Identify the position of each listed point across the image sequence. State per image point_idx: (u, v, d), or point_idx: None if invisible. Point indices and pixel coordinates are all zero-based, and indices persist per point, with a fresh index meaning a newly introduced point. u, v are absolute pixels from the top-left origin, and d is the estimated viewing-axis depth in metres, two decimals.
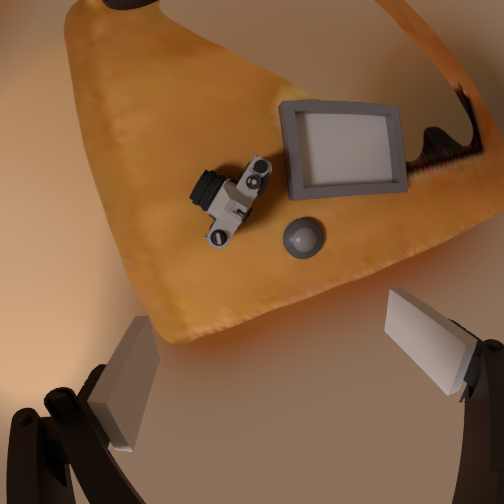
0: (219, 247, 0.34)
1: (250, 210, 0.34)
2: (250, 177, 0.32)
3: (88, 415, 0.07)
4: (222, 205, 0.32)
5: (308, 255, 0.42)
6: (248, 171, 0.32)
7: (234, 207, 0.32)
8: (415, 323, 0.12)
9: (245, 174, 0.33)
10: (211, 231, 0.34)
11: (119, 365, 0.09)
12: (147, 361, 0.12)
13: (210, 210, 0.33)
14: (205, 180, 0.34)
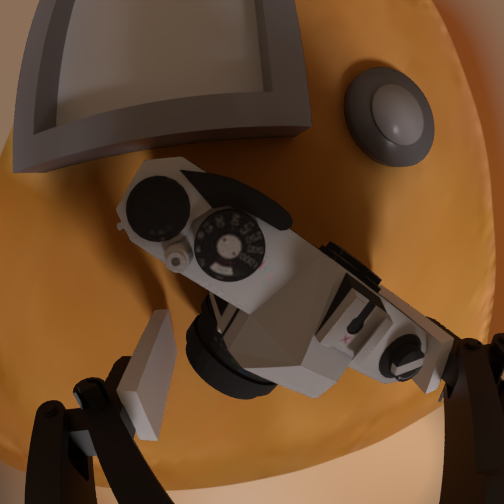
0: (423, 350, 0.09)
1: (346, 258, 0.08)
2: (206, 263, 0.07)
3: (116, 405, 0.08)
4: (318, 382, 0.07)
5: (428, 113, 0.13)
6: None
7: (338, 343, 0.07)
8: None
9: (194, 275, 0.08)
10: (378, 376, 0.09)
11: (145, 355, 0.10)
12: (168, 353, 0.12)
13: None
14: (216, 376, 0.10)
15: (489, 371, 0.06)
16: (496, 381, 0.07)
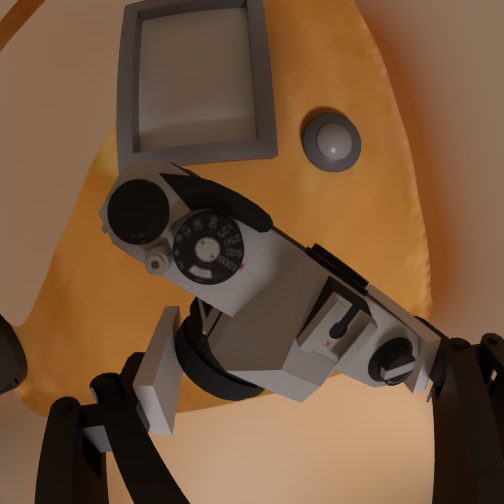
0: (414, 354, 0.09)
1: (330, 260, 0.08)
2: (185, 266, 0.07)
3: (131, 400, 0.08)
4: (301, 386, 0.07)
5: (356, 138, 0.25)
6: None
7: (321, 347, 0.07)
8: None
9: (175, 277, 0.07)
10: (368, 380, 0.09)
11: (159, 351, 0.10)
12: None
13: None
14: (204, 377, 0.10)
15: (478, 371, 0.07)
16: (486, 382, 0.08)
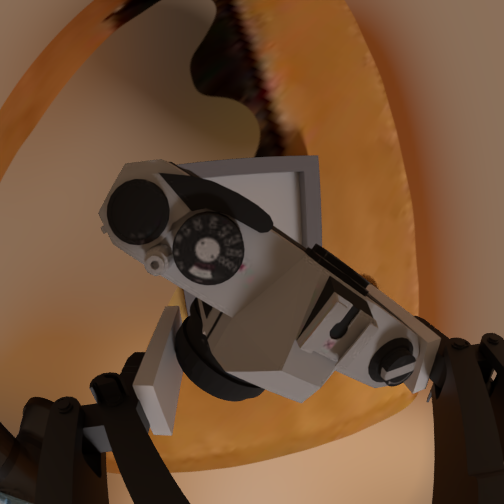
0: (415, 354, 0.09)
1: (331, 261, 0.08)
2: (185, 266, 0.07)
3: (131, 400, 0.08)
4: (302, 386, 0.07)
5: None
6: None
7: (321, 348, 0.07)
8: None
9: (175, 278, 0.07)
10: (368, 381, 0.09)
11: (159, 350, 0.10)
12: None
13: None
14: (204, 378, 0.10)
15: (478, 371, 0.07)
16: (485, 382, 0.08)
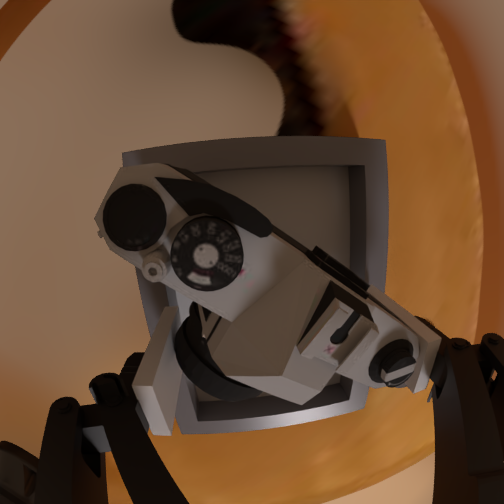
0: (415, 355, 0.09)
1: (332, 264, 0.08)
2: (183, 273, 0.07)
3: (130, 400, 0.08)
4: (302, 390, 0.07)
5: None
6: None
7: (322, 353, 0.07)
8: None
9: (173, 283, 0.07)
10: (368, 382, 0.09)
11: (159, 351, 0.10)
12: None
13: None
14: (204, 379, 0.10)
15: (478, 371, 0.07)
16: (486, 382, 0.08)
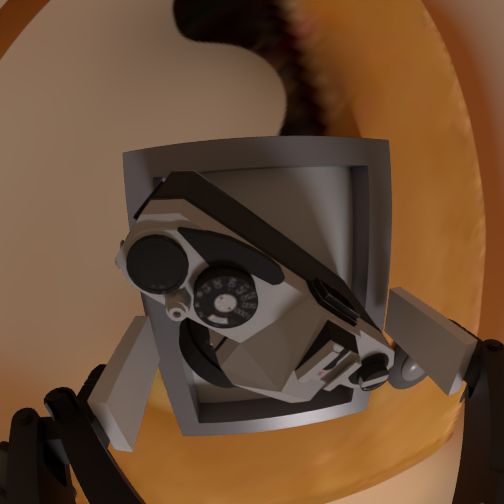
0: (389, 364, 0.11)
1: (330, 301, 0.09)
2: (204, 315, 0.07)
3: (88, 415, 0.07)
4: (294, 398, 0.09)
5: None
6: None
7: (313, 376, 0.08)
8: (415, 323, 0.12)
9: (192, 314, 0.08)
10: (347, 383, 0.11)
11: (119, 365, 0.09)
12: (147, 361, 0.12)
13: None
14: (207, 372, 0.12)
15: None
16: None
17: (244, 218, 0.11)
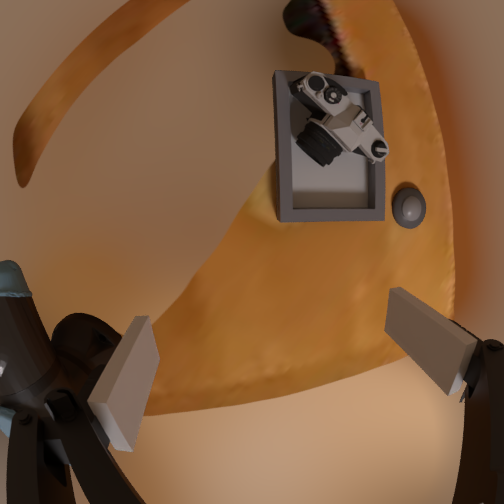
0: (387, 151, 0.27)
1: (360, 107, 0.25)
2: (328, 97, 0.24)
3: (88, 415, 0.07)
4: (353, 136, 0.25)
5: (423, 205, 0.36)
6: (320, 98, 0.24)
7: (358, 124, 0.24)
8: (415, 323, 0.12)
9: (321, 102, 0.24)
10: (371, 154, 0.27)
11: (119, 365, 0.09)
12: (147, 361, 0.12)
13: (352, 149, 0.27)
14: (313, 146, 0.28)
15: None
16: None
17: None
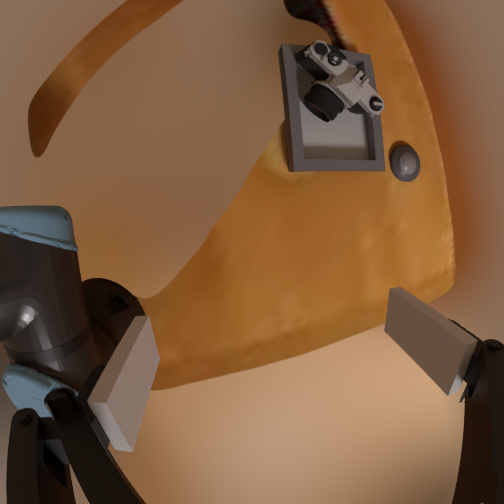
0: (383, 106, 0.30)
1: (357, 69, 0.27)
2: (331, 60, 0.26)
3: (88, 415, 0.07)
4: (354, 90, 0.27)
5: (418, 161, 0.39)
6: (325, 60, 0.26)
7: (358, 81, 0.27)
8: (415, 323, 0.12)
9: (325, 64, 0.27)
10: (369, 108, 0.30)
11: (119, 365, 0.09)
12: (147, 361, 0.12)
13: (353, 103, 0.29)
14: (320, 101, 0.30)
15: None
16: None
17: None
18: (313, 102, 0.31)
